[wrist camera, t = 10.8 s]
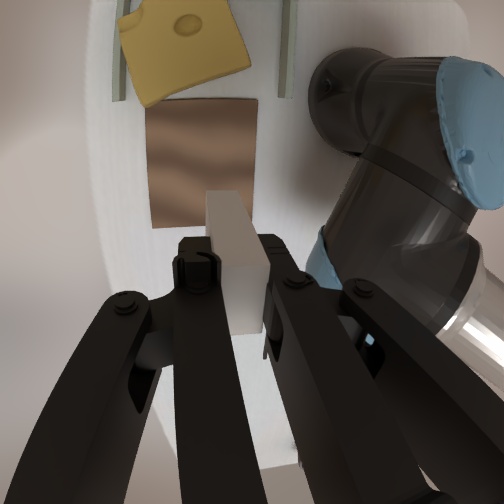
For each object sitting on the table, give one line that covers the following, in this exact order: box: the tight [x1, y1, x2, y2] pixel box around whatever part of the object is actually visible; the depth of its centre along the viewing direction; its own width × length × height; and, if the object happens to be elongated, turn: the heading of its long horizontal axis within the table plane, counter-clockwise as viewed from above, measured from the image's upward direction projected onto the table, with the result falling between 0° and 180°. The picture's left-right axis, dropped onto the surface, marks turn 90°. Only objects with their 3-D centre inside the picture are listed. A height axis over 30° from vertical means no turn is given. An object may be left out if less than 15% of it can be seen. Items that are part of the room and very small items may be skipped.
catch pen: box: [112, 0, 297, 102], centre depth 25 cm, size 15×20×3 cm
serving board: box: [145, 99, 258, 229], centre depth 34 cm, size 16×13×1 cm
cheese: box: [117, 0, 251, 108], centre depth 23 cm, size 10×11×10 cm
